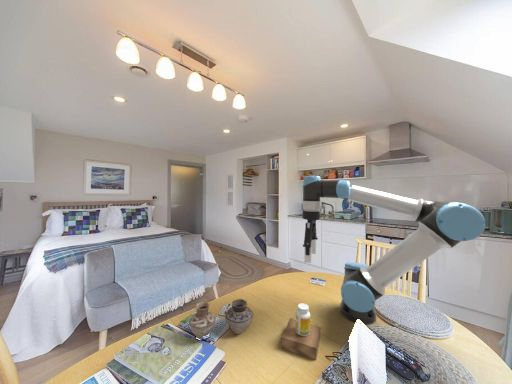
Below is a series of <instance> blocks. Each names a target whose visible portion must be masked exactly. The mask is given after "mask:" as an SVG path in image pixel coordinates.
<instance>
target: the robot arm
mask: <svg viewBox="0 0 512 384" xmlns="http://www.w3.org/2000/svg"><path fill="white" fill-rule="evenodd" d="M302 183H303V185H302V202H301V205H302V210H303V211H302V220H306V222H305V230H304V238H303V239H304V240H303V244H302V247H303V248H304V254H303V255H304V258H303V259H304V262H303V263H308V264H312V255H316V254H317V252H316V251H317V249H316V248H317V240H318V236H317V223H316V222H317V221H319V220H320V219H321V211H320V210H321V198H322V199H323V198H324V199H325V198H329V199H330V198H331V199H342V200H347V201H350V202H354V203H357V204H360V205H363V206H364V205H365V206H368V207H371V208H376V209H379V210H383V211H385V212H389V213H393V214H397V215H401V216H404V217H407V218H410V219H411V220H412V221H414V222H417V223H418V228H417V229H415V230H414V231H413V232H412V233H411V234H409V235H408V236H407V237H405V238H404V239H403V240H402V241H400V242H398V244H397V245H395V246H394V247H392V248H391V249H390V250H388V251H387V252H386V253H385V254H383V255H382V256H381V257H379V258H378V259H377V260H376V261H375V262H373V263H372V264H371V265H368V264H365V263H360V262H353V261H352V262H350V261H349V262H346V263H345V264H344V267H343V269H344V275H343V279H342V283H341V287H340V295H341V301H340V304H339V311H340V314H341V315H342V316H343V317H345V318H346V319H348V320H349V321H352V322H354V323H357V322H356V320H357V319H360V320H361V321H362V322H363V323H371V324H374V323H375V322H376V321H377V311H376V309H375V304H376V301H377V300H378V299H380V298H382V297H383V296H385V294H386V288H387V287H389V286H390V285H392V284H393V283H395V282H396V281H397V280H398V279H400V278H401V277H403V276H404V275H405V274H407V273H408V272H410V271H411V270H413V269H414V268H415V267H417V266H418V265H420V264H421V263H423V262H424V261H425V260H427V259H428V258H429V257H431V256H433V255H434V254H435V253H436V252H438V251H439V250H441V249H443V248H444V249H445V248H446V249H452V248H454V247H456V246H457V245H458V244H459V243H461V242H469V241H471V240H475V239H478V238H479V237H480V236H482V234H483V233H484V231H485V229H486V219H485V217H484V215H483V214H482V212H481V211H479V210H478V209H477V208H475V207H474V206H472V205H469V204H467V203H463V202H457V201H456V202H455V201H453V202H452V201H451V202H450V201H441V200H440V201H439V200H431V199H430V200H429V199H425V198H417V199H415V198H410V197H405V196H400V195H397V194H392V193H388V192H384V191H380V190H377V189H376V190H375V189H372V188H368V187H365V186H364V187H363V186H359V185H354V184H351V182H350V181H349V180H344V179H340V180H339V179H336V180H333V179H332V180H322V179H321V176H320V175H306V176H304V177H303V182H302ZM373 322H374V323H373Z"/></svg>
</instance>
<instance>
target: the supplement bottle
mask: <svg viewBox="0 0 512 384" xmlns="http://www.w3.org/2000/svg"><path fill="white" fill-rule="evenodd" d="M295 320H296V323H295V330H296V333H297V334H299V335H301V336H308V335H309V334H310V324H311V312H310V308H309V305H308V304H307V303H302V302H301V303H299V304H298V305H297V310H296V311H295Z"/></svg>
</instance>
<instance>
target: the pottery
mask: <svg viewBox="0 0 512 384" xmlns="http://www.w3.org/2000/svg"><path fill="white" fill-rule="evenodd" d="M195 308H196V313H194V314H193V315H192V316H191V317H190V318H189V322H188V323H189V327H190V331H191V332H192V334H193V335H194V337H195V336H196V337H197V338H199V339H202V337H203V336H206V335H208V334H209V333H210V334H211V333H212V331H213V329H214V328H215V324H216V316H215V314H214V313H213V312H210V311H209V308H210V303H209V302H207V301H201V302H197V303H196V305H195ZM224 315H225V316H224V317H225V321H226V323H227V325H228V326H229V328H231V331H232V333H234V334H237V335H239V334H240V335H241V334H244V332H246V330H247V328H248V327H249V326H250V325H251V323H252V321H253V318H254V313H253V310H252V309H251V308H249V307H248V302H247V300H245V299H242V298H237V299H234V300H233V301H232V302H231V307H230V308H228V309H227V310H226V311H225V314H224Z"/></svg>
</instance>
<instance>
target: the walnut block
mask: <svg viewBox="0 0 512 384" xmlns="http://www.w3.org/2000/svg"><path fill="white" fill-rule="evenodd" d="M295 323H296V318H295V319H294V318H289V321H288V322H287V325H286V327H285V329H284V331H283V334H282V336H281V349H283V350H285V351H289V352H292V353H295V354H298V355H300V356H304V357H307V358H309V359H312V360H317V358H318V352H319V347H320V340H321V329H322V328H321V326H320V325H316V324H313V323H310V334H309V335H308V336H301V335H299V334H297V333H296V330H295Z"/></svg>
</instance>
